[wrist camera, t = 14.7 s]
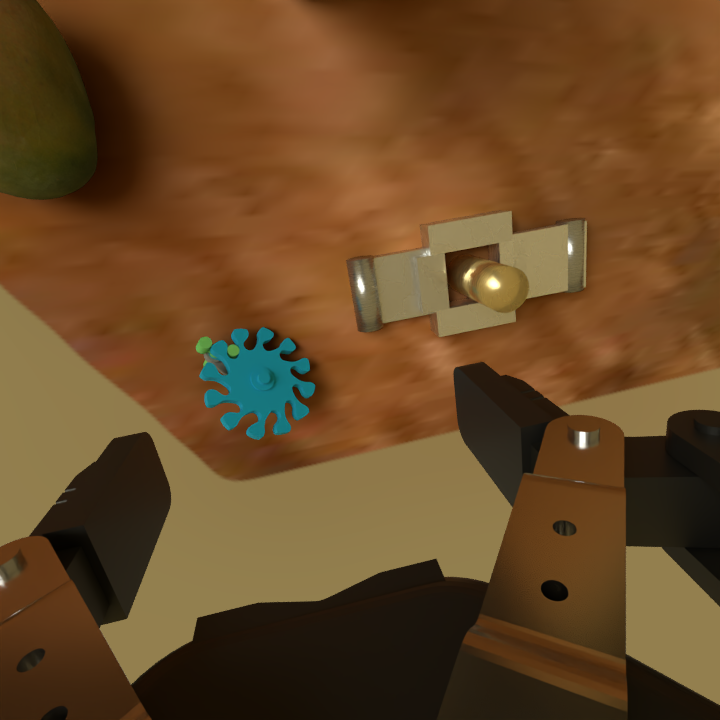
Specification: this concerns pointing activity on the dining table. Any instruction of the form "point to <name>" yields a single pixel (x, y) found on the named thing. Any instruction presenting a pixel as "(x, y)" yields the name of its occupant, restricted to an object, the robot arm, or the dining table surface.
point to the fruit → (41, 108)
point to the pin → (488, 282)
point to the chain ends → (429, 279)
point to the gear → (254, 380)
